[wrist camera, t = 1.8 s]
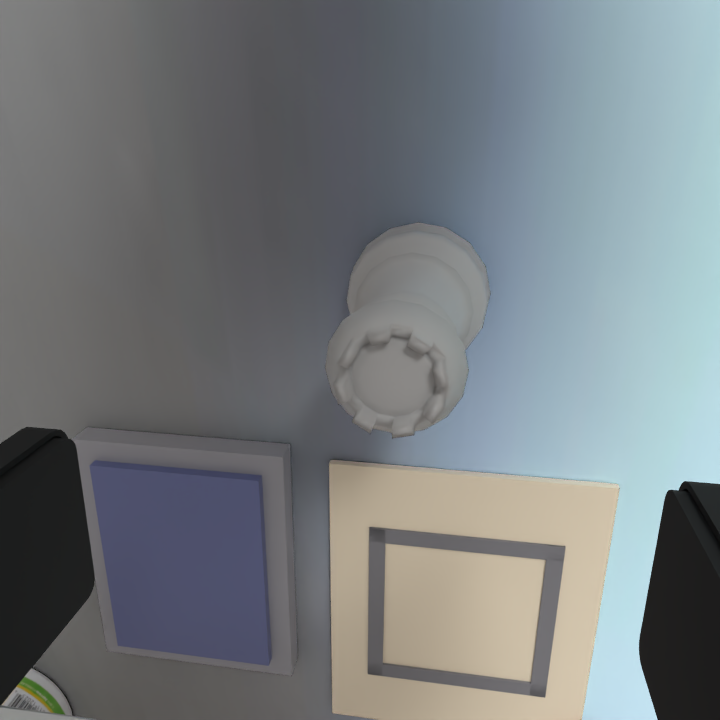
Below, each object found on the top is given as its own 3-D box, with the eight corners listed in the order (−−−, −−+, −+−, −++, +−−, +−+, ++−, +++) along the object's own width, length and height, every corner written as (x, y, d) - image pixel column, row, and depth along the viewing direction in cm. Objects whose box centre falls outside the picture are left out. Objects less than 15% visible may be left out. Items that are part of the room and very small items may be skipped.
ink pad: (86, 427, 26) (65, 444, 25) (290, 443, 25) (280, 462, 23) (118, 633, 29) (102, 658, 28) (297, 657, 28) (289, 684, 27)
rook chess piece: (421, 380, 23) (394, 512, 16) (324, 289, 22) (249, 382, 15) (520, 289, 21) (542, 388, 14) (418, 189, 21) (386, 238, 13)
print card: (330, 459, 25) (328, 465, 24) (617, 484, 23) (619, 490, 23) (333, 707, 29) (331, 715, 29) (576, 741, 27) (577, 749, 27)
